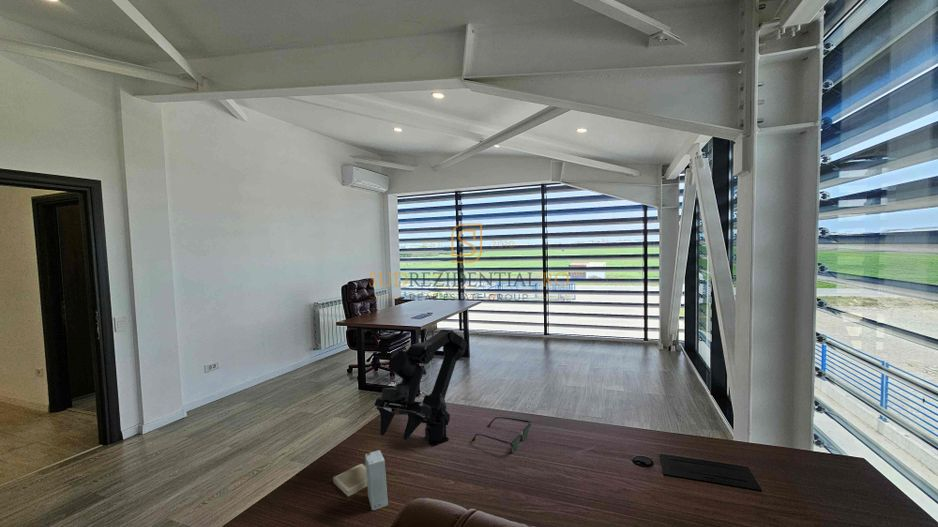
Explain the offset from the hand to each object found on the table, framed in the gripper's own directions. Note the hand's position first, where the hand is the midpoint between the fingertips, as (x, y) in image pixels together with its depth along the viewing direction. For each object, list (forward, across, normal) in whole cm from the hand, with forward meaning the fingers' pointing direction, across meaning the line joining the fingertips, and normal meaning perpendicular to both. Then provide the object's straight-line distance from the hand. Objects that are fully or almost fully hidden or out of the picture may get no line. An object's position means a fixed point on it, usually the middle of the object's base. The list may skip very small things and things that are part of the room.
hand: (392, 437), depth 103 cm
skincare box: (+16, +1, +1) cm, 16 cm away
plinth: (+13, -11, +2) cm, 17 cm away
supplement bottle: (-14, -30, +34) cm, 48 cm away
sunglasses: (-10, +14, +37) cm, 41 cm away
